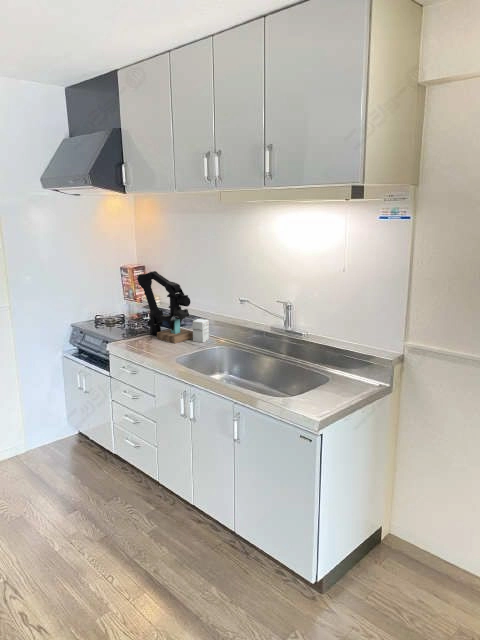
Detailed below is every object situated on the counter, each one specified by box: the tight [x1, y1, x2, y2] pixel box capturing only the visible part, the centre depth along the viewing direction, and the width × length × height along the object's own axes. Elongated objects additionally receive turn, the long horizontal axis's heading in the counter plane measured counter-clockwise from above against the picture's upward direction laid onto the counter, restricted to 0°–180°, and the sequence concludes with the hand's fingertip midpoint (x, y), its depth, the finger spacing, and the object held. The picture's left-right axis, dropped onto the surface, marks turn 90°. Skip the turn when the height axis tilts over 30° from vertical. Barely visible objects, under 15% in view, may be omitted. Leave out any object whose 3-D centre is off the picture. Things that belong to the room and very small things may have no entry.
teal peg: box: [170, 318, 181, 334], centre depth 294 cm, size 4×4×10 cm
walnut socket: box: [156, 328, 193, 344], centre depth 295 cm, size 16×16×4 cm
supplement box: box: [192, 318, 210, 343], centre depth 289 cm, size 7×7×13 cm
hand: (175, 329), depth 294 cm, fingers closed on teal peg, 4 cm apart
